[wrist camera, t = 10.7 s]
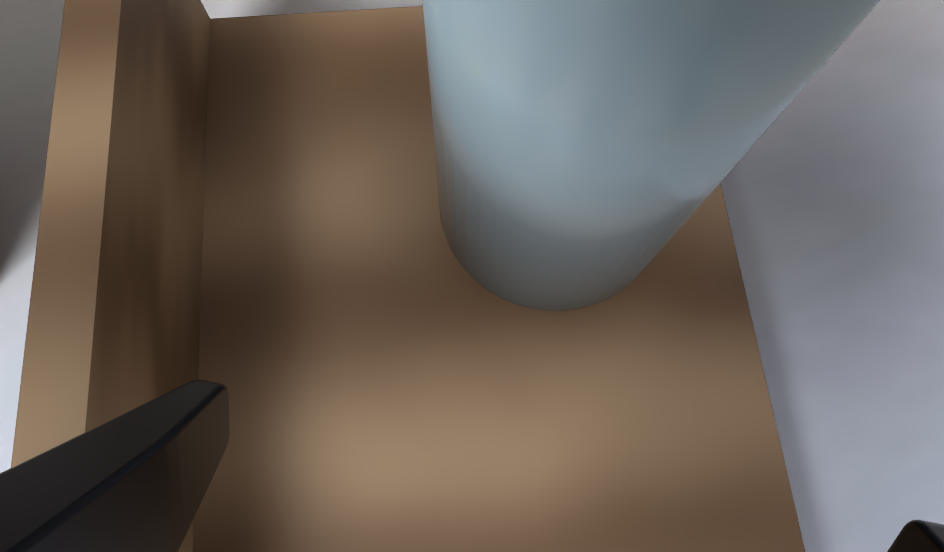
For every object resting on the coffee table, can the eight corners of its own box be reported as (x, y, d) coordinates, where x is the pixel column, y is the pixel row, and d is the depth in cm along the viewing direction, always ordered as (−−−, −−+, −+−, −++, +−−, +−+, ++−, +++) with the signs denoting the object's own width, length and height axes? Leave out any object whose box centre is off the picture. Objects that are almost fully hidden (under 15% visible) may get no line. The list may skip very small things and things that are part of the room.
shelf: (776, 665, 17) (1027, 814, 10) (184, 734, 17) (-47, 959, 9) (649, 50, 23) (743, -156, 16) (206, 78, 22) (79, -125, 15)
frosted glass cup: (705, 254, 18) (1277, -274, 5) (499, 349, 17) (608, -19, 4) (595, 75, 19) (834, -639, 7) (403, 152, 18) (286, -511, 6)
